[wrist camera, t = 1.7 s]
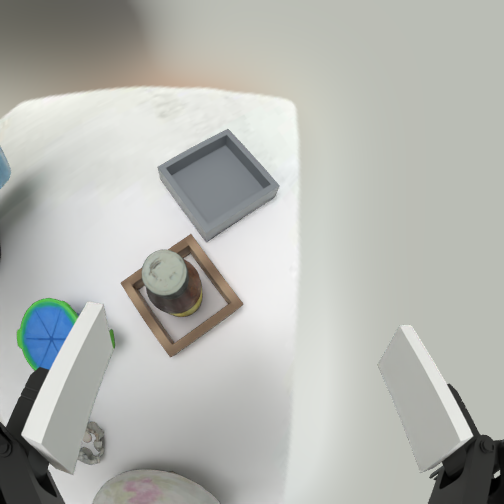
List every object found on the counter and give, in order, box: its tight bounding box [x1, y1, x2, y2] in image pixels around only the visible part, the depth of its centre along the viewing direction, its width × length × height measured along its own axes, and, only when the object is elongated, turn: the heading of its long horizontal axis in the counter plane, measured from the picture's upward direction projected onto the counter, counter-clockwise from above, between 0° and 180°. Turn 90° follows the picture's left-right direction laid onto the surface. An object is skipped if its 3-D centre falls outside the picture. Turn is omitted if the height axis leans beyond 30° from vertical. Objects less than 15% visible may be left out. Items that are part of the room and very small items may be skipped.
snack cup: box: [17, 298, 115, 371], centre depth 34 cm, size 16×10×10 cm
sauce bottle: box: [142, 250, 202, 317], centre depth 33 cm, size 6×6×20 cm
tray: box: [158, 129, 279, 242], centre depth 47 cm, size 14×14×4 cm
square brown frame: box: [121, 234, 243, 357], centre depth 41 cm, size 12×12×4 cm
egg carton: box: [77, 422, 104, 465], centre depth 32 cm, size 10×7×4 cm
